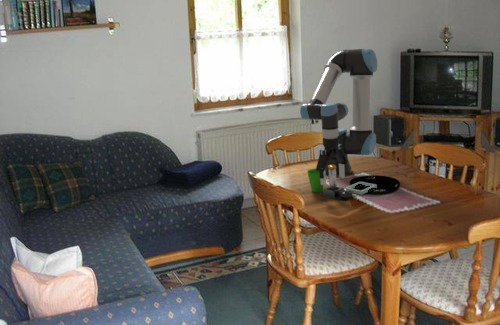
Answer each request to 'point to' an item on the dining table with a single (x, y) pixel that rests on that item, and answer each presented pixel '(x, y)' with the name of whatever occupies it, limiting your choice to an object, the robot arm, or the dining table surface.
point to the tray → (350, 188)
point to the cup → (315, 180)
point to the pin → (332, 177)
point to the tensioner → (338, 194)
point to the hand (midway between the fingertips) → (332, 181)
